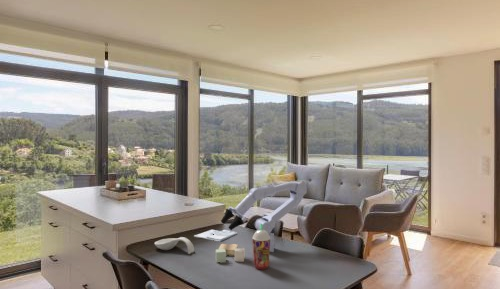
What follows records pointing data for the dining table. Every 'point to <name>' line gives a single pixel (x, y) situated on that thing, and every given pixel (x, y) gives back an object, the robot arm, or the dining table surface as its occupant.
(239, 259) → the cream block
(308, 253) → the dining table surface
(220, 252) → the sage block
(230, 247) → the oak base
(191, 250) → the spoon rest
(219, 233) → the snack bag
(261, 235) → the smoothie
